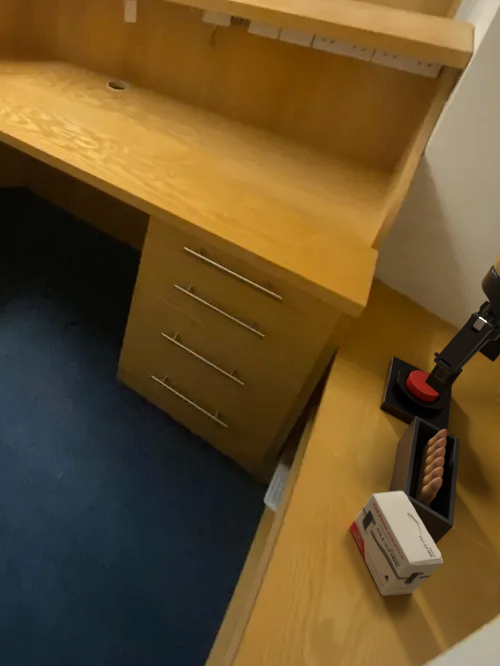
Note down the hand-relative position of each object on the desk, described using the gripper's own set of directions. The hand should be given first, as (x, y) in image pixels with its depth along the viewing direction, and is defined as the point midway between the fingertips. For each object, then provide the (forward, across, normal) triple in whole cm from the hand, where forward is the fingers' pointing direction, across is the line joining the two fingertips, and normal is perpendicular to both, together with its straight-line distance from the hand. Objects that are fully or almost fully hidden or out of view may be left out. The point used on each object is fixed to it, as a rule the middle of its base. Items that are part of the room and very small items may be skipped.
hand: (460, 370), depth 82 cm
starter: (+20, +7, +4) cm, 21 cm away
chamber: (+20, -9, -6) cm, 23 cm away
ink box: (+20, -22, -9) cm, 31 cm away
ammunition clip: (+20, -9, -6) cm, 22 cm away
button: (+16, +7, +4) cm, 18 cm away
